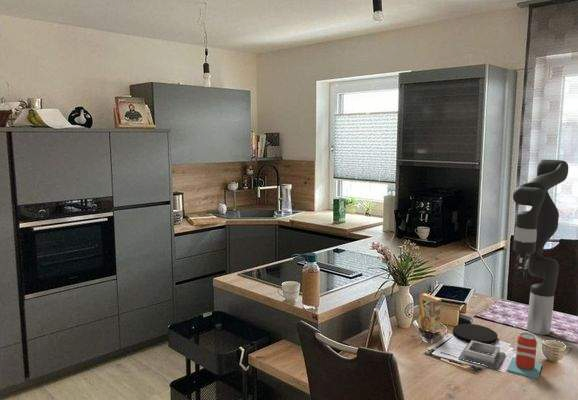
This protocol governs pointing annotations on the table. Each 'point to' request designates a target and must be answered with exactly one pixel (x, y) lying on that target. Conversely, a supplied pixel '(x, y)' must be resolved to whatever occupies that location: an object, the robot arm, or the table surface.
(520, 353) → the beverage can
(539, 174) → the robot arm
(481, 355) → the can holder
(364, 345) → the table surface
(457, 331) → the black round disc
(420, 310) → the candy box
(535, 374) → the mat
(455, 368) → the table surface
